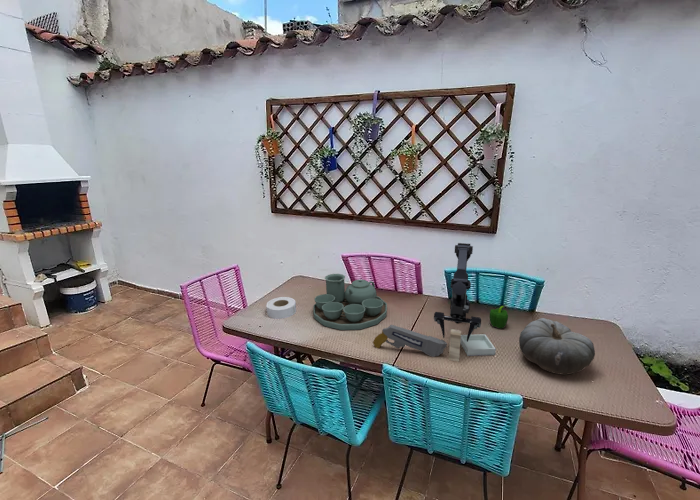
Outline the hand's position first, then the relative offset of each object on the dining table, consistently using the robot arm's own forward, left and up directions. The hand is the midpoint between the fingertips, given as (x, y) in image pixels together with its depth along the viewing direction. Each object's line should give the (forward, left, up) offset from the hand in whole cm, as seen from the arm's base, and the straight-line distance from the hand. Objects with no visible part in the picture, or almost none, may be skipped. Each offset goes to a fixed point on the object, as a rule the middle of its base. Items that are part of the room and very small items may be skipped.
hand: (455, 339), depth 139 cm
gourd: (-35, +17, -9) cm, 39 cm away
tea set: (+27, -54, -9) cm, 62 cm away
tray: (-13, -3, -8) cm, 16 cm away
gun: (+16, -11, -9) cm, 21 cm away
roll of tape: (+62, -68, -9) cm, 93 cm away
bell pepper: (-35, -14, -8) cm, 38 cm away
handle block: (0, 0, -8) cm, 8 cm away
